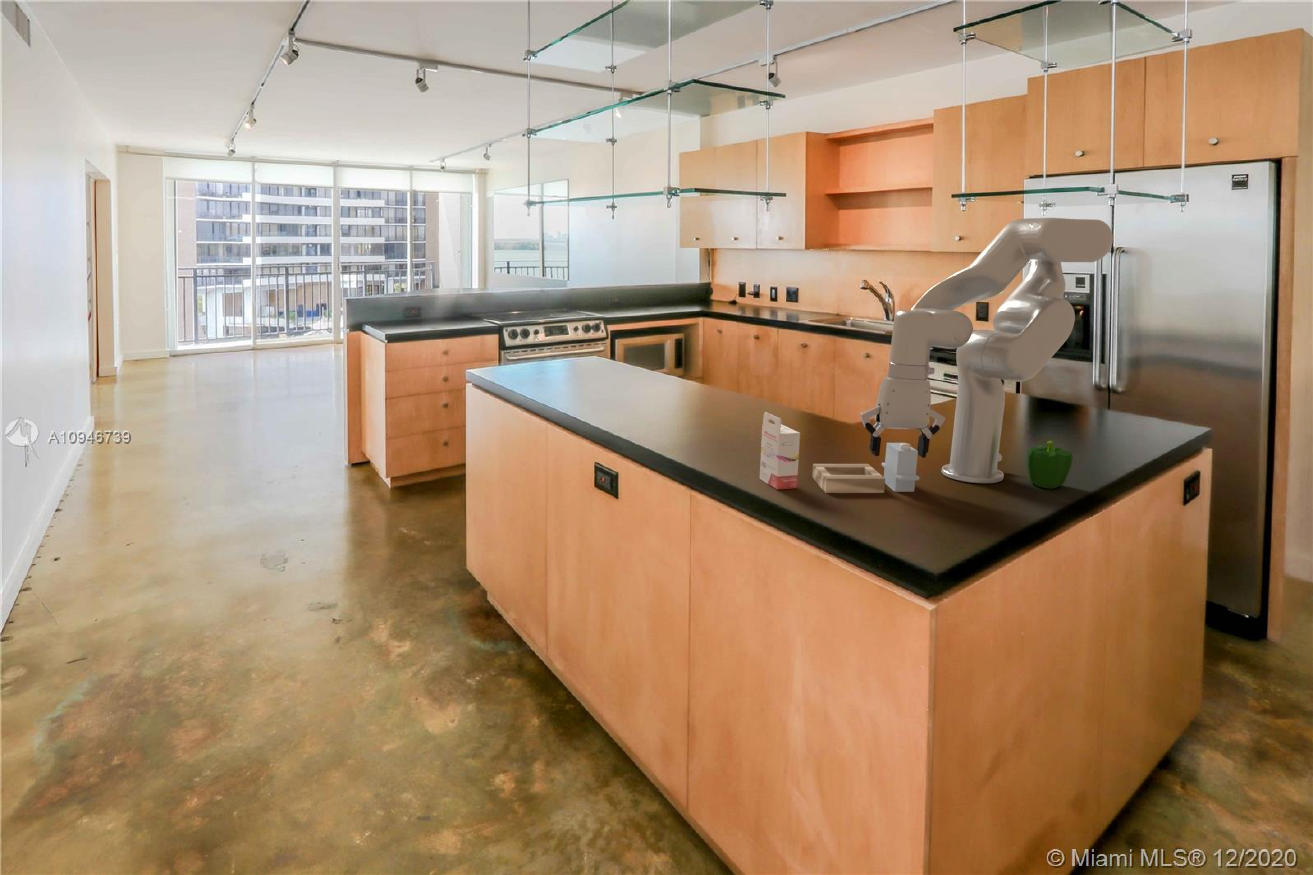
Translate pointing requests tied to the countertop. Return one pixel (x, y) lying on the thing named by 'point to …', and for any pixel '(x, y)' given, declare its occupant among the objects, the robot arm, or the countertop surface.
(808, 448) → the countertop surface
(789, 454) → the ink cartridge box
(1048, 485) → the bell pepper
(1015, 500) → the countertop surface
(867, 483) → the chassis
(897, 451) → the servo
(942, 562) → the countertop surface
